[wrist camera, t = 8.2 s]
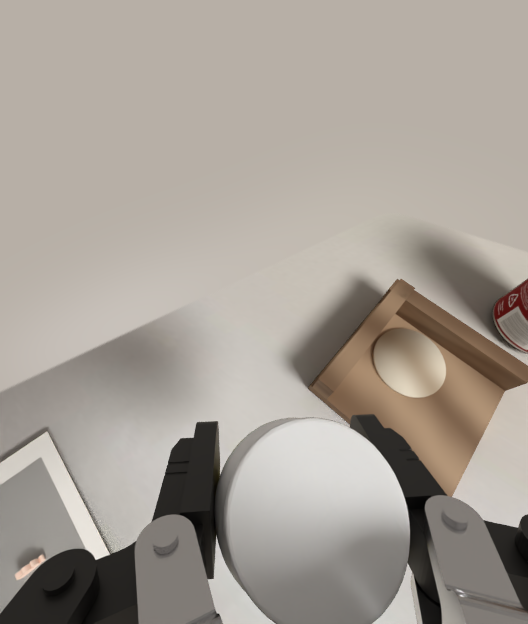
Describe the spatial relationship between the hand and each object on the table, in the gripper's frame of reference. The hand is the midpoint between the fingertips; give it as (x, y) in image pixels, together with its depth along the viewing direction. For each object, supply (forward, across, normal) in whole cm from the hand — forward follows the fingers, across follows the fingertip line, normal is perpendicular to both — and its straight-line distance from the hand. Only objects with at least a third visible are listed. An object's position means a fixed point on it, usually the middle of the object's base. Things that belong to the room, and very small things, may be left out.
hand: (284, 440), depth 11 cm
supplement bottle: (+2, 0, +4) cm, 5 cm away
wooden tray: (+15, -14, +7) cm, 21 cm away
